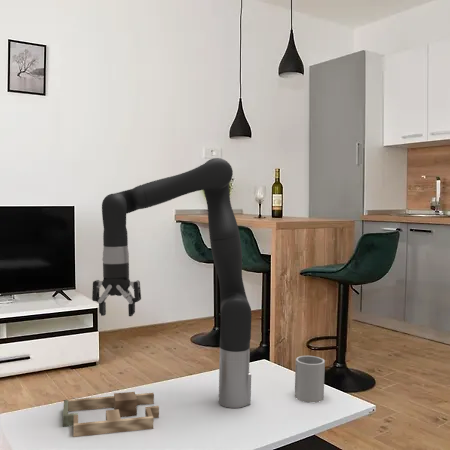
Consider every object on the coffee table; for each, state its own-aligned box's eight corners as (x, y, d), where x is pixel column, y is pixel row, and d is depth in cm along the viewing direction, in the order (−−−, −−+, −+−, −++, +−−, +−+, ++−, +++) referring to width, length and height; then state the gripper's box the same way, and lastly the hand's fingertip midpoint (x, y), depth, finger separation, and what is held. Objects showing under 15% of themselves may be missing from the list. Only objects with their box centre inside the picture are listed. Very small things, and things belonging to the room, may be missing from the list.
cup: (329, 398, 167) (330, 361, 166) (308, 404, 161) (309, 366, 161) (309, 389, 174) (310, 354, 173) (288, 395, 169) (289, 358, 168)
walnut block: (134, 408, 156) (134, 391, 156) (136, 416, 151) (136, 399, 150) (113, 409, 155) (114, 393, 155) (115, 418, 149) (115, 401, 149)
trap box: (153, 402, 161) (153, 392, 161) (162, 427, 143) (162, 417, 143) (63, 410, 153) (63, 400, 153) (62, 437, 136) (62, 426, 136)
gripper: (143, 259, 157) (144, 313, 158) (97, 259, 159) (99, 312, 160) (135, 263, 150) (136, 319, 151) (87, 262, 152) (89, 317, 153)
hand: (117, 315), depth 156 cm, fingers open, 8 cm apart
